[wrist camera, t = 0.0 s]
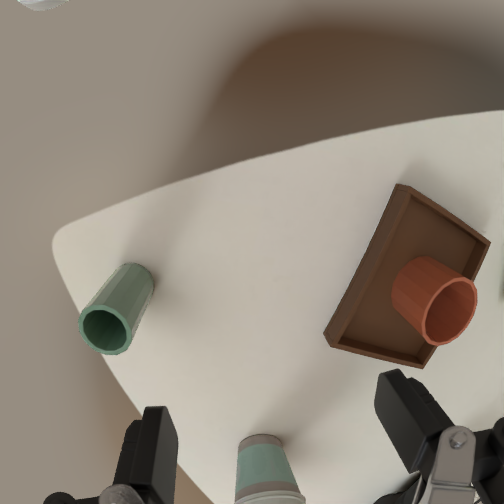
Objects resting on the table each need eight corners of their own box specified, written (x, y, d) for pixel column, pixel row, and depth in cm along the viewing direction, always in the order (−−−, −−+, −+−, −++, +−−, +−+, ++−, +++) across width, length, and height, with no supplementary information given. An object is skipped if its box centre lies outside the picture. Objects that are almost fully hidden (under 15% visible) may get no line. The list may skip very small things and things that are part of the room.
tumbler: (408, 245, 31) (447, 267, 24) (449, 267, 32) (487, 289, 26) (377, 305, 32) (408, 337, 26) (421, 320, 34) (453, 350, 27)
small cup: (118, 256, 28) (82, 295, 20) (159, 272, 29) (138, 318, 21) (108, 294, 29) (75, 342, 21) (148, 309, 30) (126, 363, 22)
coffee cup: (220, 434, 36) (223, 511, 25) (286, 421, 36) (305, 497, 25) (236, 467, 39) (242, 535, 27) (294, 456, 39) (311, 523, 28)
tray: (396, 183, 29) (409, 186, 26) (477, 236, 32) (491, 242, 29) (322, 333, 33) (330, 346, 30) (413, 358, 36) (422, 369, 33)
